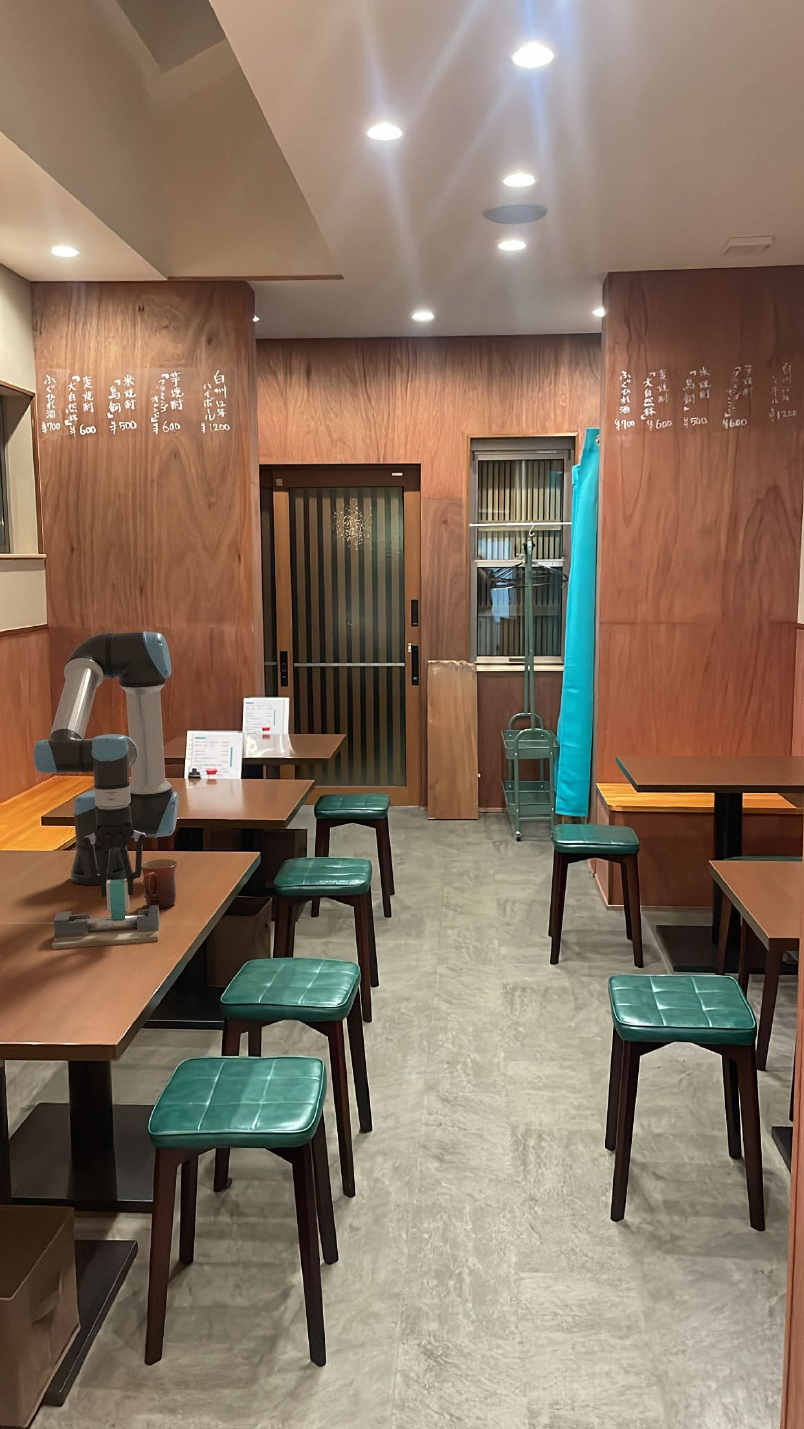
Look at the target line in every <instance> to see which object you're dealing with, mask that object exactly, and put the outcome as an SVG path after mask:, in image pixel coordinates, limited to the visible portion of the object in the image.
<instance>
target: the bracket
mask: <svg viewBox="0 0 804 1429" xmlns="http://www.w3.org/2000/svg"><path fill="white" fill-rule="evenodd" d="M90 918H91V913H81V914H80V913H79V914H78V913H77V914H72V911H59V912H56V914H55V917H54V918H53V932H54V933H53V934H54V935H53V936H54V939H55V938H66V937H79V936H88V935H89V934H88V920H84V921H74V920H76V919H90Z"/></svg>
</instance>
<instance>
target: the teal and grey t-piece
mask: <svg viewBox="0 0 804 1429" xmlns="http://www.w3.org/2000/svg"><path fill="white" fill-rule="evenodd" d="M124 880H125V879H122V880H111V881H110V901H111V912H110V916H108V917H107V916H106V917H105V916H104V917H93V918H92V917H90V919H76V920H74V921H84V920H88V932H89V931H102V930H116V929H129V928H137V917H140V916H145V915H138V914H133V915H127V911H125V898H124Z"/></svg>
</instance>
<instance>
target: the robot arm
mask: <svg viewBox="0 0 804 1429" xmlns="http://www.w3.org/2000/svg"><path fill="white" fill-rule="evenodd" d="M171 675H172V661H171V654H170V649H169V645H168V643H167V640H166V637H165V636H164V635H163V634H162V633H160V632H155V631H154V632H153V631H133V632H131V631H130V632H102V633H99V634H95V635H93V636H91V637H88V638H87V639H86V640H84V641H83V642H81V643H80V644H79V645H78V646H77V647H76V648H75V649H74V650H72V652H71V653H70V655H69V656H68V658H67V660H66V662H65V665H64V668H63V676H64V679H65V681H64V685H63V688H62V692H61V695H60V699H59V701H58V706H57V710H56V713H55V717H54V720H53V723H52V724H53V725H52V728H51V730H50V734H49V736H48V737H49V738H48V739H47V738H45V739H42V740H41V739H39V740H38V741H36V743H35V745H34V749H33V762H34V767H35V769H36V770H37V771H38V772H39V773H41V774H69V773H93V784H94V787H93V788H94V789H93V790H90V791H86V792H83V793H81V794H79V795H77V796H76V797H75V799H74V801H73V802H74V803H73V817H74V818H73V819H74V831H75V832H74V833H75V834H74V835H75V848H76V851H75V856H74V859H73V863H72V866H71V870H70V880H71V882H72V883H74V884H76V885H83V886H100V892H101V893H100V894H101V896H102V898H104V897H105V898H106V904H107V905H106V906H107V913H111V901H110V881H111V880H122V879H125V880H124V898H125V911H126V912H129V910H130V907H131V906H130V896H133V894H134V893H135V892H134V891H135V889H134V888H135V887H134V886H135V885H134V881H135V880H136V879H140V878H141V876H142V863H143V843H144V841H145V838H156V839H157V838H158V837H159V838H161V837H169V836H171V835H173V833H174V832H175V831H176V826H177V825H176V824H177V819H178V812H179V802H180V801H179V800H180V799H179V793H178V792H177V791H173V786H172V785H173V784H171V783H170V782H169V781H168V780H167V779H166V769H165V768H166V767H165V766H166V765H165V750H164V749H165V748H164V733H163V717H162V713H163V712H162V703H161V702H162V701H161V697H162V696H161V690H162V689H163V688H164V687H165V685H166V683H167V682H166V679H169V678H170V677H171ZM106 679H110V680H113V679H114V680H115V679H116V680H117V679H118V681H119V682H118V683H119V685H118V686H119V687H120V688H121V689H122V690H123V691H125V694H126V695H125V696H126V710H127V712H126V713H127V725H128V727H127V728H128V736H126V735H123V734H119V733H117V734H116V733H113V734H112V733H111V734H110V733H109V734H101V735H97V736H95V737H93V738H85V735H86V731H87V729H88V724H89V719H90V715H91V712H92V708H93V704H94V699H95V695H96V692H97V688H98V687H99V686H100V685H101V684H102V683H103V681H104V680H106ZM130 771H131V773H130ZM130 774H131V782H130ZM132 838H133V839H134V841H135V842H136V847H135V865H134V866H135V867H134V868H135V869H134V872H133V869H132V864H131V859H130V855H129V851H128V850H129V849H128V843H129V842H130V840H131V839H132Z"/></svg>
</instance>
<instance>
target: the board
mask: <svg viewBox="0 0 804 1429" xmlns="http://www.w3.org/2000/svg"><path fill="white" fill-rule="evenodd" d="M159 921H160V923H159V930H158V931H150V932H137V928H129V929H116V930H102V931H89V932H88V934H89V935H88V936H79V937H66V938H55V937H54V939H53V941H52V944H51V948H52V950H59V949H73V948H83V947H85V948H86V947H97V946H111V945H123V944H126V945H127V944H139V943H151V942H153V943H154V942H159V936H160V927H161V916H159Z"/></svg>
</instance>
